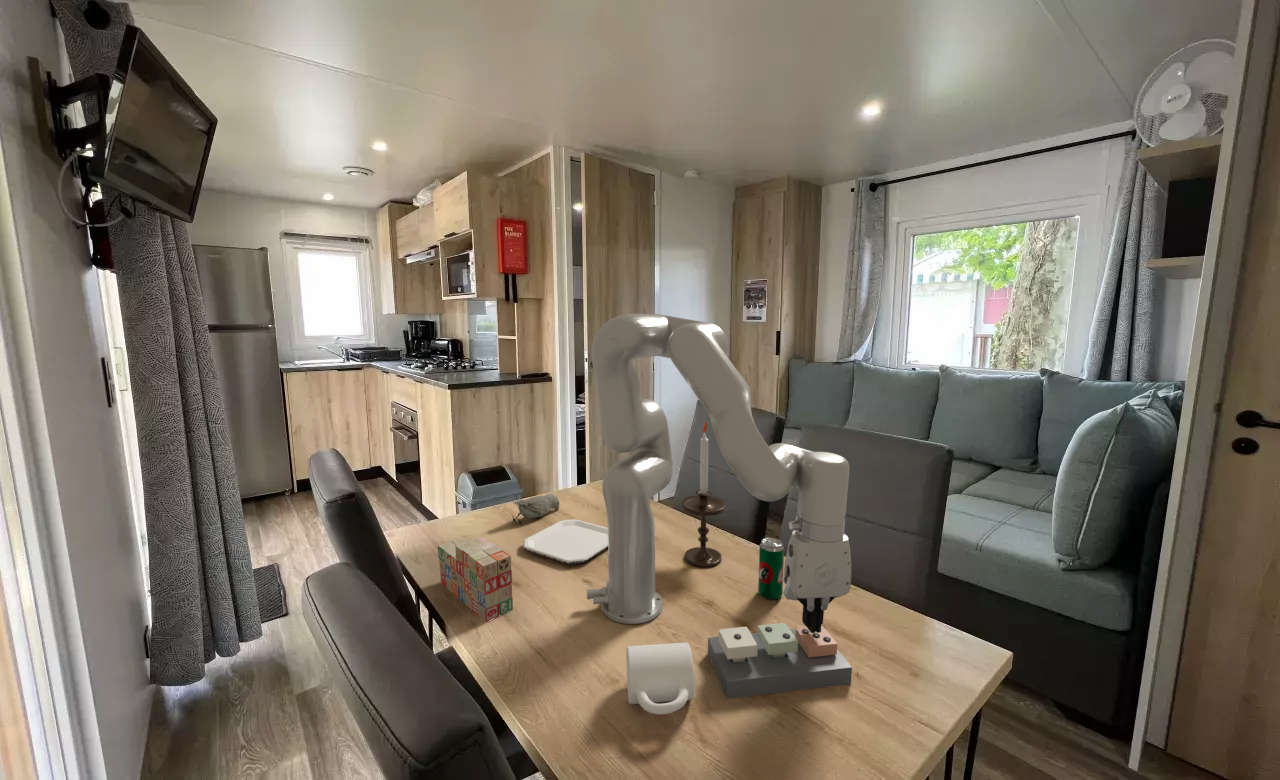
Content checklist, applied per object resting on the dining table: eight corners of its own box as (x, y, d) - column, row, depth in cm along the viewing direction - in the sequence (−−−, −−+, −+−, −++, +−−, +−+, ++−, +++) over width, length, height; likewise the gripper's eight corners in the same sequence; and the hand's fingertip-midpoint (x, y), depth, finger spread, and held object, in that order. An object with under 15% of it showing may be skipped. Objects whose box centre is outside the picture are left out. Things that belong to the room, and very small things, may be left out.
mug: (626, 679, 85) (625, 635, 84) (685, 675, 86) (686, 631, 84) (631, 738, 73) (630, 688, 72) (700, 733, 74) (700, 683, 73)
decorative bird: (564, 512, 157) (563, 489, 155) (521, 529, 145) (519, 504, 143) (552, 508, 160) (551, 485, 159) (509, 524, 148) (508, 500, 147)
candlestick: (712, 546, 133) (714, 414, 128) (733, 565, 123) (736, 423, 117) (674, 552, 129) (674, 417, 124) (691, 572, 119) (693, 426, 114)
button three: (807, 673, 85) (809, 645, 84) (794, 654, 90) (795, 627, 89) (835, 670, 86) (837, 642, 85) (821, 651, 91) (822, 624, 90)
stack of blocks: (440, 583, 115) (436, 532, 114) (466, 573, 120) (463, 524, 118) (486, 623, 100) (482, 565, 99) (514, 610, 105) (511, 554, 103)
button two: (768, 671, 84) (769, 643, 83) (757, 651, 89) (757, 624, 88) (796, 668, 85) (798, 640, 84) (784, 648, 90) (785, 622, 89)
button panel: (727, 698, 80) (727, 681, 80) (707, 653, 91) (708, 637, 91) (851, 684, 83) (852, 667, 83) (818, 641, 94) (819, 626, 93)
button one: (727, 676, 83) (727, 647, 82) (718, 655, 88) (718, 628, 87) (756, 672, 84) (757, 644, 83) (746, 653, 89) (746, 625, 88)
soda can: (783, 602, 107) (785, 548, 105) (758, 599, 108) (759, 546, 106) (781, 589, 112) (783, 537, 110) (757, 587, 113) (759, 536, 111)
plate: (626, 540, 137) (626, 532, 137) (577, 573, 120) (577, 564, 120) (567, 523, 148) (567, 516, 148) (515, 551, 131) (514, 543, 131)
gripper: (786, 539, 80) (779, 645, 83) (874, 535, 82) (864, 638, 85) (768, 519, 87) (762, 617, 90) (849, 516, 89) (840, 612, 92)
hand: (811, 627), depth 87 cm, fingers closed
